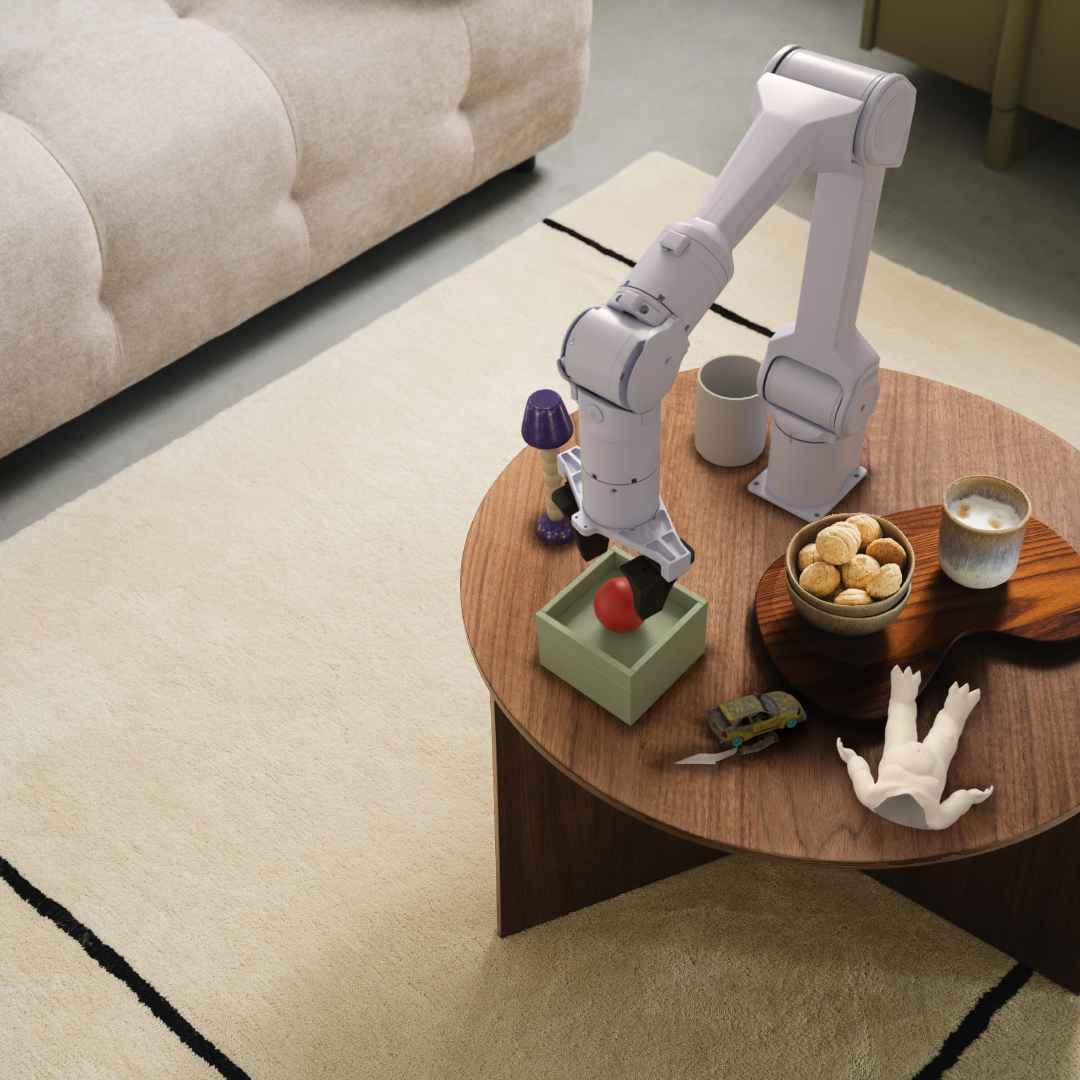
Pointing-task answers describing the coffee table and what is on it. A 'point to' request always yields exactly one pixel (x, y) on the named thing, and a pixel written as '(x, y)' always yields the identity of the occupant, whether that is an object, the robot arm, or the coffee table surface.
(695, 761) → the knife
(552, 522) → the toy lamp
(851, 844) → the coffee table surface
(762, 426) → the cup
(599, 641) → the open box
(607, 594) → the ball
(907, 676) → the toy creature
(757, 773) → the coffee table surface
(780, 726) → the race car
